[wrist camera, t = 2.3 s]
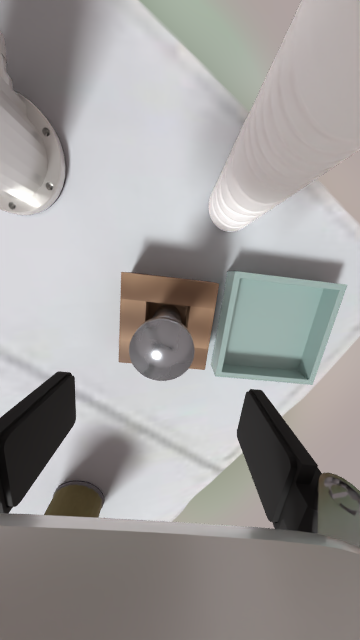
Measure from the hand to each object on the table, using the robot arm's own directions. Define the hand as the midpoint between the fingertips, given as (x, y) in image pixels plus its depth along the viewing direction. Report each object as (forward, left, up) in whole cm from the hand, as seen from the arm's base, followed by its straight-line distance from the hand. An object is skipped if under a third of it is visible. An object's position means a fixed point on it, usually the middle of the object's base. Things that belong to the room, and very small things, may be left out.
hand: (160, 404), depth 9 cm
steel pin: (0, 0, -18) cm, 18 cm away
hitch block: (0, 0, -19) cm, 19 cm away
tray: (0, +16, -19) cm, 25 cm away
